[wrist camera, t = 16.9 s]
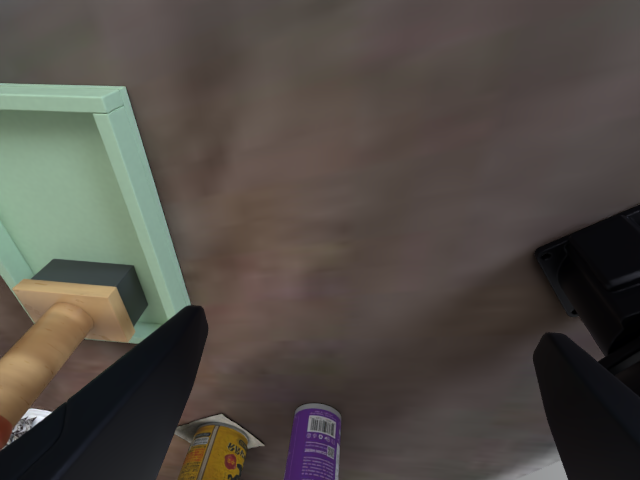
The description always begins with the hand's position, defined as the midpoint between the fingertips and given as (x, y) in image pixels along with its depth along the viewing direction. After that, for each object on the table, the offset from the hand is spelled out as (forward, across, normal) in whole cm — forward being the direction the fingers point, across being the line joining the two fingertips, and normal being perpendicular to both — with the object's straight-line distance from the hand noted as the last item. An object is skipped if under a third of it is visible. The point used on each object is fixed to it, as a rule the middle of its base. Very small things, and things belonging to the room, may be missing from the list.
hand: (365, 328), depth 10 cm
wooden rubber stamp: (+11, +18, +10) cm, 24 cm away
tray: (+12, +19, +6) cm, 23 cm away
